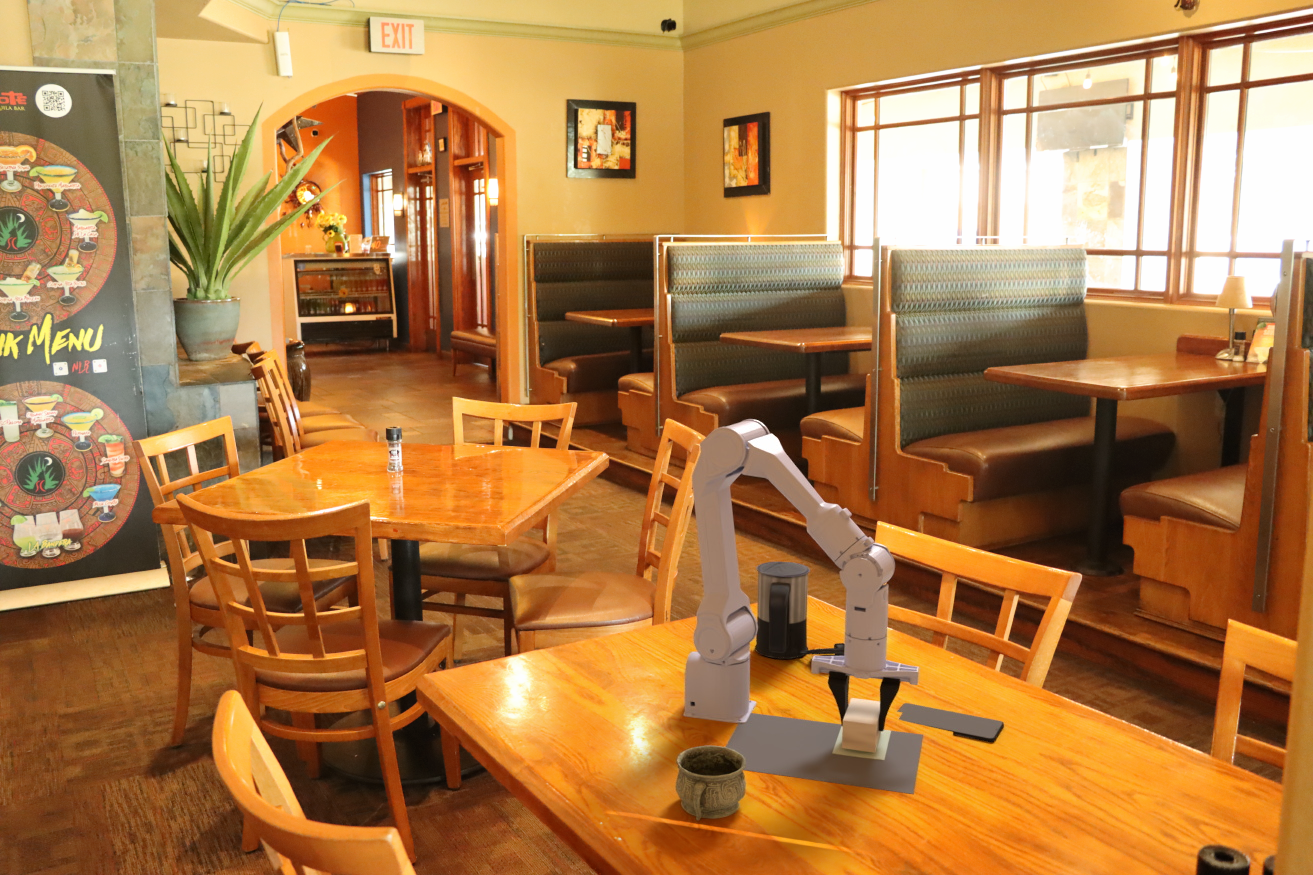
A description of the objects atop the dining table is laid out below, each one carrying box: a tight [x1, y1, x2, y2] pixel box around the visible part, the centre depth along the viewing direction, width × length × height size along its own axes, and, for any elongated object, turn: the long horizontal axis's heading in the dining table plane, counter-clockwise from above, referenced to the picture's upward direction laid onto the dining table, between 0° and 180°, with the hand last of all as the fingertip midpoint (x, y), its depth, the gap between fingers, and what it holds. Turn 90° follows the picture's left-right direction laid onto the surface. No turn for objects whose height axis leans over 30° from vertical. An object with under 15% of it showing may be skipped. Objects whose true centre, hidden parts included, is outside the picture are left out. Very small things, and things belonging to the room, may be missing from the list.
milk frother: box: [754, 561, 845, 660], centre depth 186 cm, size 14×16×15 cm
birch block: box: [842, 697, 881, 753], centre depth 153 cm, size 8×4×4 cm, turn 162°
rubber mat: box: [724, 712, 924, 795], centre depth 151 cm, size 26×18×1 cm
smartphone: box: [896, 702, 1005, 744], centre depth 161 cm, size 7×1×15 cm
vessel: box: [674, 745, 747, 821], centre depth 136 cm, size 12×9×6 cm
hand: (862, 725), depth 153 cm, fingers closed on birch block, 4 cm apart
